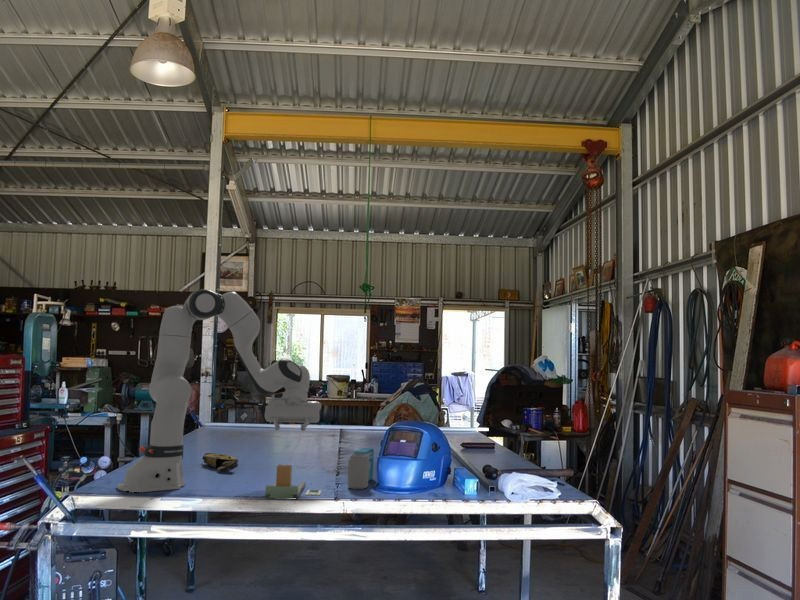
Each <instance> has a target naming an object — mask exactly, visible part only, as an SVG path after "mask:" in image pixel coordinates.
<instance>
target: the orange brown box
mask: <svg viewBox="0 0 800 600" xmlns="http://www.w3.org/2000/svg"><path fill="white" fill-rule="evenodd" d="M292 471H293V465H292V464H278V465H277V466H276V480H275V482H276V486H292V477H293V476H292V475H293V474H292V473H293V472H292Z"/></svg>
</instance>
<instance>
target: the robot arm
mask: <svg viewBox="0 0 800 600" xmlns="http://www.w3.org/2000/svg"><path fill="white" fill-rule="evenodd" d="M215 316H216V317H217V318H220V319H221V320H222V321H223V322H224V323H225V325H226V326H227V328H228V329H229V330H230V332H231V334H232V337H233V342H232V345H233V349H234V351H235V353H236V355H237V357H238V358H239V360H240V362H241V364H242V366H243V367H244V369H245V371H246V373H247V375H248V376H249V378H250V380H251V383H252V386H253V388H254V390H255V391H256V392H257V393H258V394H259V395H261V396H264V397H271V398H270V401H269V402H268V403H267V405H266V408H265V410H264V411H265V412H264V419H265V421H266V422H267V423H269V422H271V423H273V424H274V430H275V431H280V427H281V426H280V423H302V424H300V431H302V432H305V431H306V428H307V427H308V426H309V425H310V424H317V423H319V422H320V415H321V414H320V411H321V410H322V403H321V402H319V401H317V400H315V401H313V400H312V401H311V400H308V396H309V395H308V394H309V393H308V392H309V390H310V382H311V376H310V371H309V370H308V368H307V367H306V366H305V365H302V364H297V363H296V362H294V361H293V360H291V359H288V358H284V357H283V358H280V359H279V360H277V361H275V362H274V363H272V364H271V365H269V366H267V367H266V368H262V366H261V364H260V363H259V361H258V360H257V358H256V355H255V354H254V352H253V348H252V347H253V344H254V341H255V340H256V338H257V337H258V335H259V333H260V331H261V321H260V318H259V316H258V315H257V314H256V312H255V311H254V310H253V309H252V307H251V306H250V305H249V303H248V302H247V301H246V300H245V299H244V298H242V297H241V295H239V294H238V293H237V292H235V291H228V292H225V293H223V294H220V293H217V292H215V291H213V290H210V289H206V288H201V289H198V290H195V291H193V292H191V293H190V295H189V296H188V297H187V298H186V300H185V301H184V302H183V304H182V305H171V306H168V307H167V308H165V310H164V312H163V314H162V319H161V322H160V327H159V332H158V333H159V335H158V343H157V352H156V359H155V364H154V367H153V371H152V375H151V380H150V383H149V386H148V392H149V395H150V398H151V399H152V400H153V402H155V408H154V413H153V418H152V420H151V422H150V423H151V424H150V437H149V445H148V446H147V447H146V446H143V445H142V446H140V447H139V448H138V451H139V453H144V454H143V455H144V456H143V457H141V458H140V459H139V460H138V461H137V462H135V463H134V464H132V466H130V467H129V468H128V469H127V470H126V472H125V475H124V480H123V483H119V484H117V485H116V489H117V490H120V491H122V492H126V491H129V492H128V493H134V492H137V494H138V492H139V493H146V492H147V493H149V492H159V491H160V492H161V491H171V490H180V489H181V487H184V486H185V485H186V483H185V479H184V473H183V472H184V471H183V458H184V450H185V448H184V447H185V446H184V444H183V442H184V440H183V439H184V429H185V428H184V425H185V419H186V415H187V410H188V407H189V405H188V404H189V400H190V399H191V396H192V392H193V391H192V385H191V384H190V383H189V381H188V380H187V379H186V378H184V374H185V369H186V366H187V365H188V362H189V360H190V350H191V342H192V333H193V332H192V331H193V326H194V323H195V322H199V321H205V320H209V319H211V318H213V317H215ZM282 388H284V389H285V390H284V391H282V392H278V391H279V390H280V389H282ZM276 392H278V393H276Z"/></svg>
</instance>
